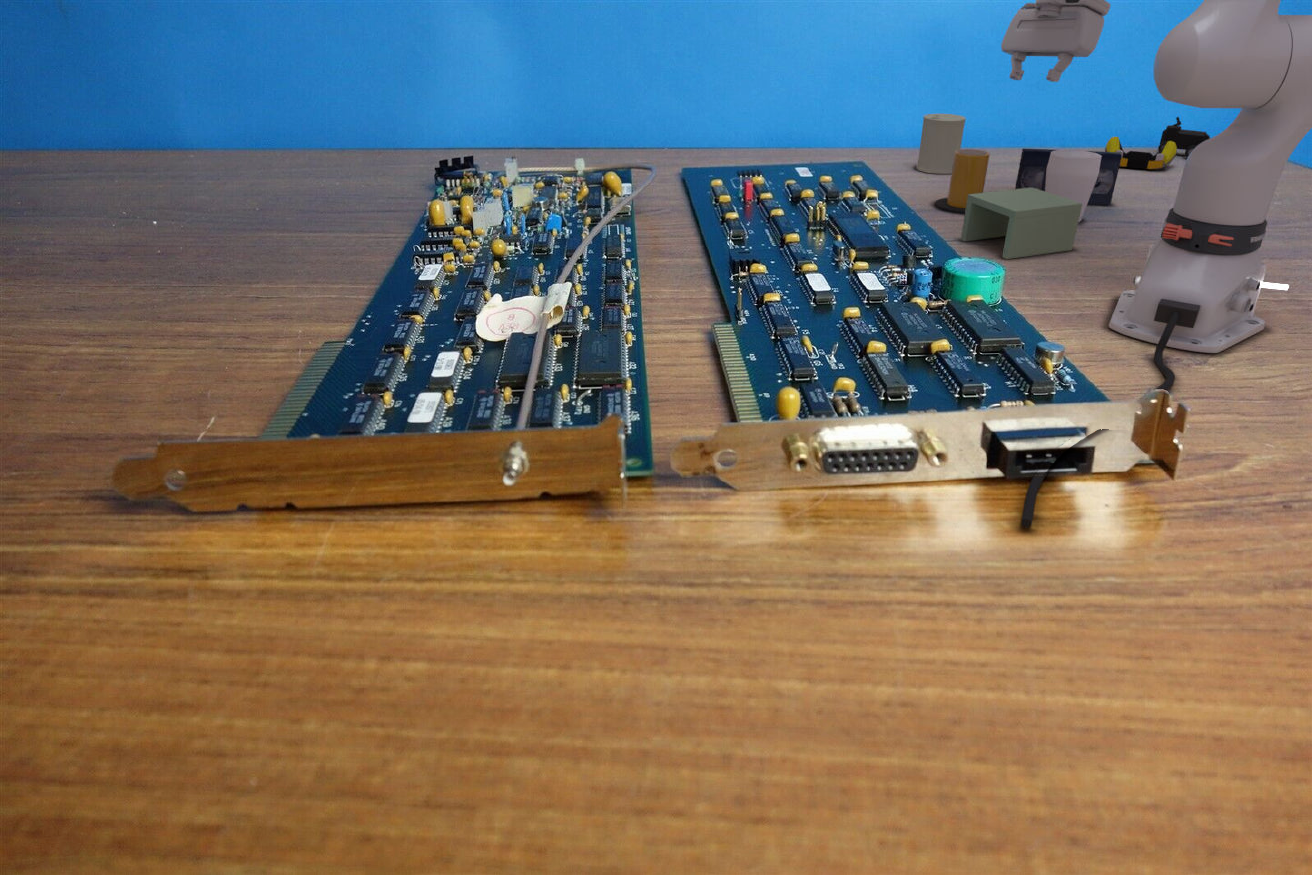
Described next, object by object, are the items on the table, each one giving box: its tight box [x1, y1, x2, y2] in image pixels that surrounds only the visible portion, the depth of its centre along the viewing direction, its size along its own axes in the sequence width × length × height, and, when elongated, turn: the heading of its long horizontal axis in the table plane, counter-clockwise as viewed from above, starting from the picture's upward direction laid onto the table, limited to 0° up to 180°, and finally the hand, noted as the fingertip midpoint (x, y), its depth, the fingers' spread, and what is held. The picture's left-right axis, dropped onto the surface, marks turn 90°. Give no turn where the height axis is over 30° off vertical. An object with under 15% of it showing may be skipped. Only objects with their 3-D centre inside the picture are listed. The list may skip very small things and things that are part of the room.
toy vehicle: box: [1157, 116, 1211, 159], centre depth 225 cm, size 8×15×9 cm, turn 55°
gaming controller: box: [1104, 136, 1178, 170], centre depth 216 cm, size 15×6×10 cm
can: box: [916, 113, 967, 175], centre depth 211 cm, size 9×9×12 cm
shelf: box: [960, 187, 1082, 260], centre depth 160 cm, size 14×12×8 cm
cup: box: [1045, 149, 1101, 223], centre depth 174 cm, size 9×9×12 cm
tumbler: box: [946, 148, 991, 208], centre depth 182 cm, size 6×6×10 cm
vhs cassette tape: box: [1014, 148, 1122, 206], centre depth 186 cm, size 18×3×10 cm, turn 76°
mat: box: [934, 197, 966, 215], centre depth 184 cm, size 11×11×1 cm
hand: (1032, 80), depth 171 cm, fingers open, 8 cm apart
